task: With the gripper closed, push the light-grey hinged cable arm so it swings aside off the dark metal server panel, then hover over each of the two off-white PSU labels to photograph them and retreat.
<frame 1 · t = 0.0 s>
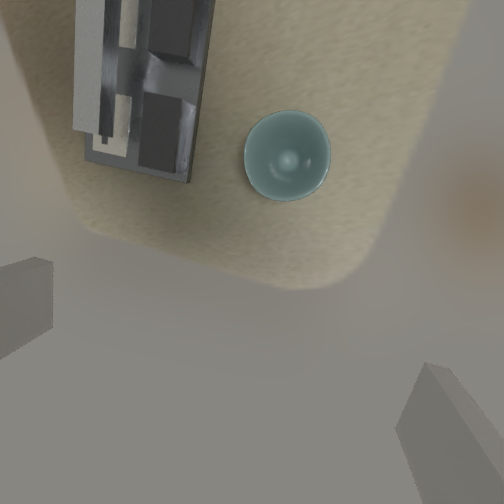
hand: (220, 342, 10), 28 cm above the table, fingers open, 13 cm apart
panel: (149, 60, 34), on the table
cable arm: (97, 13, 29), point 6 cm above the table, hinge at 0.0°
cup: (290, 162, 35), on the table
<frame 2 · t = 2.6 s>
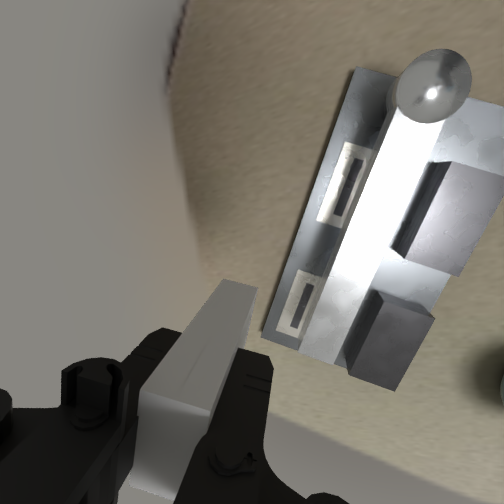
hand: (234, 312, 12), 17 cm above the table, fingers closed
panel: (372, 242, 27), on the table
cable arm: (367, 227, 21), point 6 cm above the table, hinge at 0.0°
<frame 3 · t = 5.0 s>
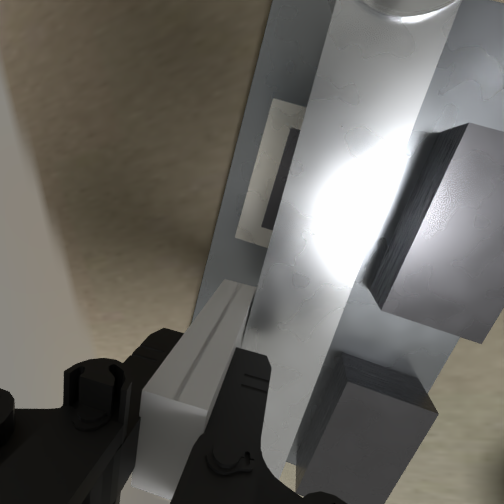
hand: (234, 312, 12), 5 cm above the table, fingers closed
panel: (333, 271, 17), on the table
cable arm: (308, 260, 11), point 6 cm above the table, hinge at 2.0°, touching gripper
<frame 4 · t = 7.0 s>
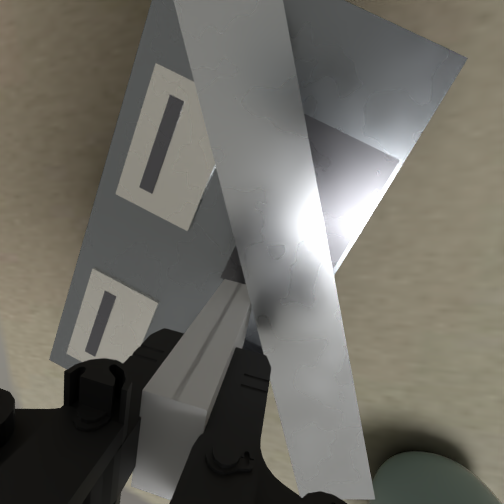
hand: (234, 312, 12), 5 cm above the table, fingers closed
panel: (210, 243, 18), on the table
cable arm: (281, 230, 11), point 6 cm above the table, hinge at 39.2°, touching gripper
cup: (417, 474, 19), on the table
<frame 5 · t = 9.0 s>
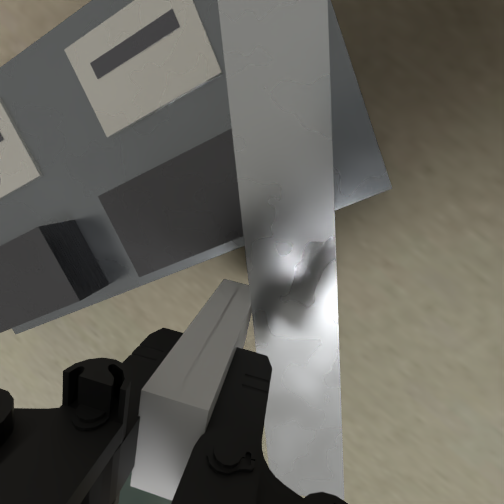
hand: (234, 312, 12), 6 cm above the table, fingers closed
panel: (125, 163, 17), on the table
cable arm: (289, 228, 11), point 6 cm above the table, hinge at 72.6°, touching gripper
cup: (158, 438, 23), on the table
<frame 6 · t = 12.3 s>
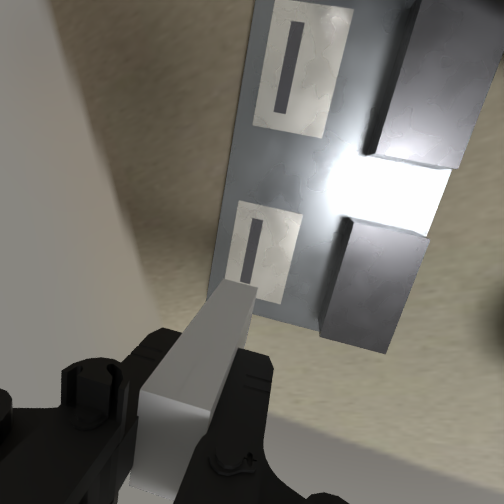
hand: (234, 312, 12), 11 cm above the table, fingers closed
panel: (336, 151, 20), on the table
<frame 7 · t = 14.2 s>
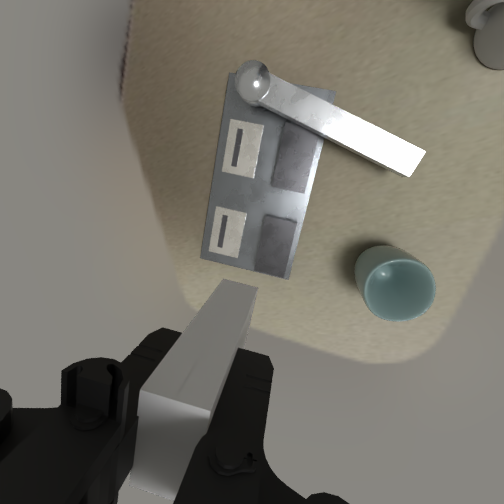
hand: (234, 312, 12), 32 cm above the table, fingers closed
panel: (262, 183, 42), on the table
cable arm: (325, 120, 33), point 6 cm above the table, hinge at 75.3°
cup: (376, 265, 43), on the table
cup 2: (492, 34, 34), on the table
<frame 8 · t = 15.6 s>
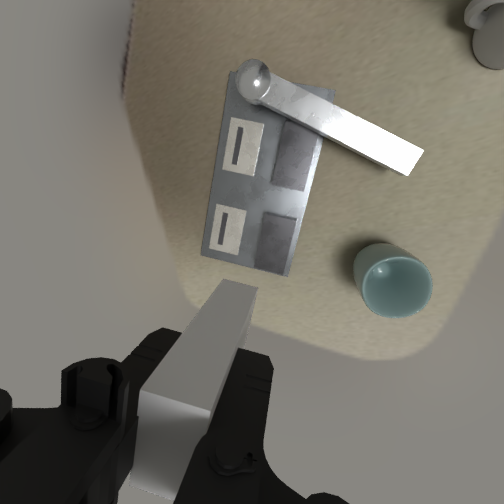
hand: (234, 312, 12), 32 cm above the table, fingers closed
panel: (262, 181, 42), on the table
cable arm: (324, 119, 34), point 6 cm above the table, hinge at 75.3°
cup: (375, 262, 43), on the table
cup 2: (491, 34, 34), on the table
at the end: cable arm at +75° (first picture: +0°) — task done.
